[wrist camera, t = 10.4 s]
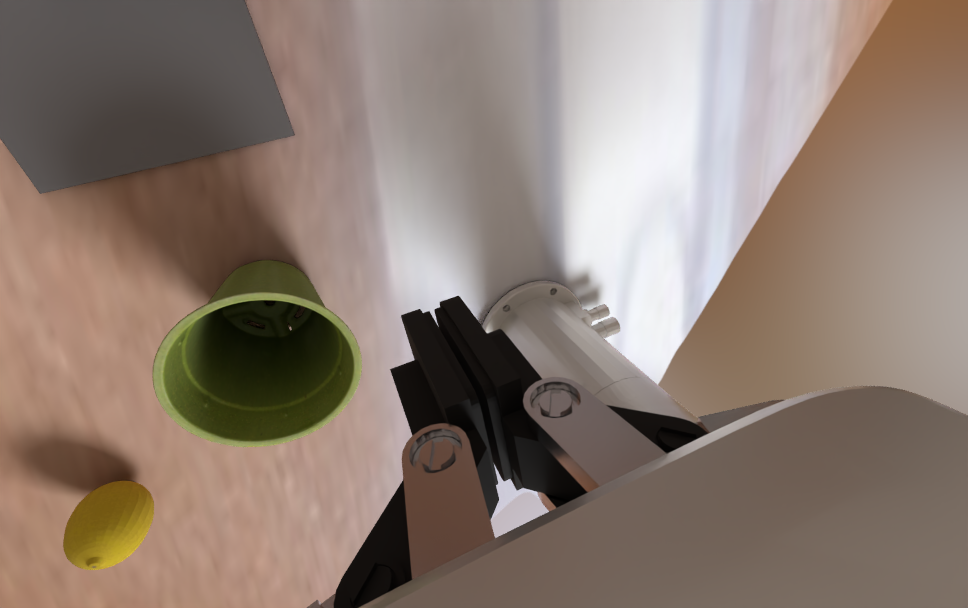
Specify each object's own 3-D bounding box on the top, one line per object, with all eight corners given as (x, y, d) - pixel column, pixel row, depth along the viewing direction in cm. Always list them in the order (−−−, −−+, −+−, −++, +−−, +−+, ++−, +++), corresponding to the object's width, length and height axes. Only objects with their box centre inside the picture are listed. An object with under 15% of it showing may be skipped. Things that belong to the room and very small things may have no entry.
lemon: (69, 485, 38) (23, 573, 31) (130, 451, 38) (98, 530, 32) (122, 515, 41) (90, 601, 34) (177, 483, 42) (157, 561, 35)
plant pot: (198, 364, 37) (169, 462, 28) (177, 229, 32) (134, 295, 23) (343, 353, 42) (359, 434, 33) (345, 234, 37) (365, 290, 28)
